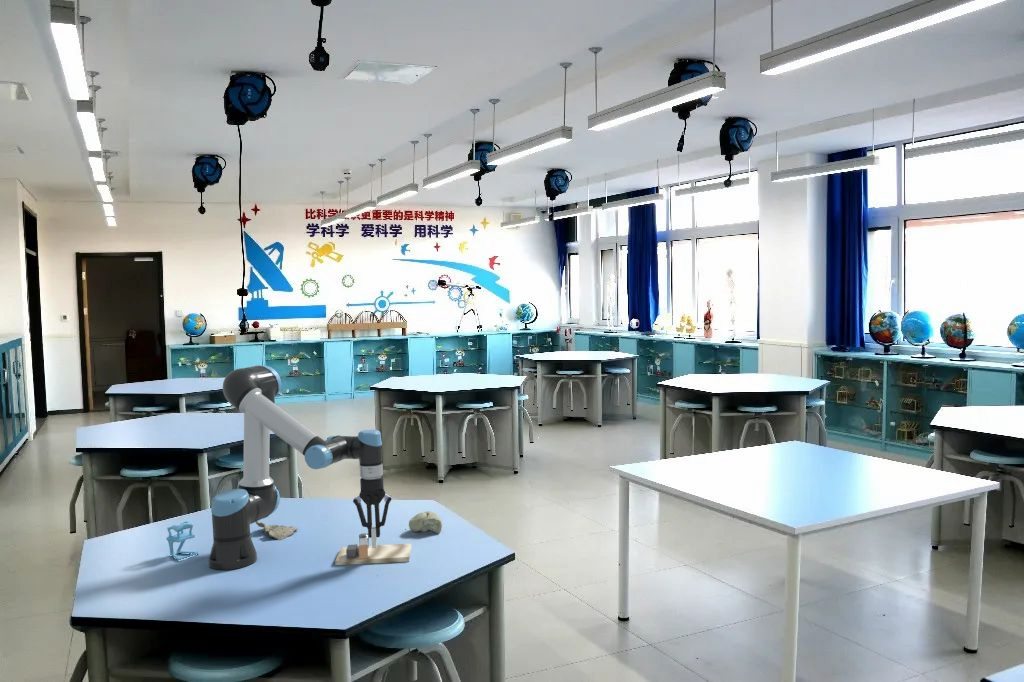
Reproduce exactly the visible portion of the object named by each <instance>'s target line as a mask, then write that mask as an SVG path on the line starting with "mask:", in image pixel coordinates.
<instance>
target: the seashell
mask: <svg viewBox="0 0 1024 682" xmlns="http://www.w3.org/2000/svg"><path fill="white" fill-rule="evenodd" d="M408 521H409V522H408V528H409V530H411V532H414V533H418V532H422V533H425V532H427V531H428V530H429V531H432V532H434V533H435V534H440V533H441V532H442V529H443V522H442V519H441V517H440V515H439V514H437V513H435V512H434V511H423V512H419V513H417V514H415V515H414V516H412V517H411V518H410V519H409V520H408Z"/></svg>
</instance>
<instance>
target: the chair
mask: <svg viewBox="0 0 1024 682" xmlns="http://www.w3.org/2000/svg"><path fill="white" fill-rule="evenodd" d="M193 527H194V524H192V523H191V522H189V521H184V522H182V523H180V524H179V525H176V524H173V525H171V526H168V527H166V529H167V532H168V536H167V537H165V538H166V541H167V543H168V547H169V553H170V554H169V556H170V555H172V556H173V557H175V558H176V559H177V560H181V559H184V558H187V557H190V556H193V555H196V554H198V555H199V552H198V551H190V550H188V551H187V550H186V551H185V550H182V548H183V546H184V544H185V542H186V541H187V540H190V539H194V538H196V537H195V536H196V535H195V534H193V533H192V530H193ZM187 529H189V532H188V533H186V532H185V531H184V530H187ZM171 530H173V531H175V532H176V533H177V534H174V535H172V534H173V533H172V532H171ZM174 543H179V545H178V548H177V550H176V553H175V552H174ZM177 553H189V554H190V555H185V556H182V557H179V556H178V554H177ZM191 553H192V554H191ZM173 557H172V558H173ZM177 560H176V561H177Z"/></svg>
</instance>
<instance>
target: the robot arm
mask: <svg viewBox="0 0 1024 682" xmlns="http://www.w3.org/2000/svg"><path fill="white" fill-rule="evenodd" d="M281 388H282V379H281V377H280V375H279V373H278V372H277V371H276V370H275V368H273V367H271V366H268V365H253V366H249V367H242V368H236V369H234V370H232V371H230V372H229V373H228V374H227V375H226V376H225V378H224V380H223V383H222V392H223V396H224V398H225V399H226V401H227V402H228V403H229V404H230V405H231V406H232V407H234V408H235V409H236V410H237V411H239V412H240V413H242V414H243V477H242V478H241V479H240V480H239V482H238V488H233V489H229V490H224V491H222V492H220V493H217V494H215V496H214V497H213V498H212V500H211V510H210V511H211V520H212V521H211V522H212V537H213V540H212V541H213V542H212V547H211V550H210V552H209V553H210V554H209V557H208V566H210V567H211V569H214V570H217V569H218V570H219V571H221V570H222V571H228V570H230V571H231V570H234V569H235V570H236V569H240V568H246V567H248V566H250V565H253V564H254V563H256V562H257V560H258V553H257V551H256V547H255V545H254V543H253V541H252V538H251V525H252V524H255V523H256V521H258V522H259V521H261V520H262V519H266V518H268V517H269V516H271V515H272V514H273V513H275V512H276V510H277V509H278V508H279V505H280V501H281V497H280V492H279V490H278V489H277V486H276V485H275V482H274V479H273V478H272V477H271V476H270V448H271V447H270V445H271V444H270V442H271V441H270V435H271V434H270V433H271V432H272V433H273V434H275V435H276V436H278V437H279V438H280V439H281V440H282V441H284V442H285V443H287V444H288V445H289V446H291V447H292V448H293V449H295V450H296V451H298V452H299V453H300V454H302V455H303V456H304V462H305V463H306V465H307V466H308V468H310V469H312V470H320V469H325V468H328V467H329V466H331V465H333V464H336V463H338V462H341V461H343V460H348V459H349V460H351V459H352V460H358V462H359V477H361V478H360V481H359V483H360V492H359V494H358V496H357V497H354V498H353V500H352V502H353V504H354V505H355V506H356V509H357V513H358V517H359V519H360V523H361V526H362V527H363V528H366V529H367V534H368V537H369V539H370V538H371V545H372V548H377V545H378V538H380V537H381V527H384V526H385V524H386V521H387V515H388V510H389V506H390V503H391V501H392V499H393V496H392V495H388V494H386V491H385V487H384V486H385V485H384V477H383V475H384V467H383V466H384V465H383V464H384V463H383V447H382V446H383V442H382V433H381V432H380V430H378V429H363V430H360V431H359V432H358V433H357V436H356V435H355V436H351V435H331V436H328V437H327V438H326V439H325V440H324V439H323V438H322V437H320V436H318V435H317V434H316V433H315V432H313V431H312V430H310V429H309V428H308V427H307V426H305V425H304V424H302V423H301V422H300V421H298V420H297V419H296V418H294V417H293V416H292V415H290V414H289V413H288V412H287V411H285V410H283V409H282V408H281V407H279V405H277V404H276V403H275V399H276V396H277V395H279V392H280V391H281ZM270 431H271V432H270ZM383 499H384V502H385V504H384V508H383V512H382V517H381V518H380V503H381V502H382V500H383ZM362 501H363V503H364V504H365V505H366V515H367V517H366V515H365V512H364V510H363V507H362V503H361V502H362ZM372 506H374V507H373V508H374V522H375V526H373V514H372V513H373V511H372V510H373V509H372ZM366 518H367V519H366ZM210 567H209V568H210Z"/></svg>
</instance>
